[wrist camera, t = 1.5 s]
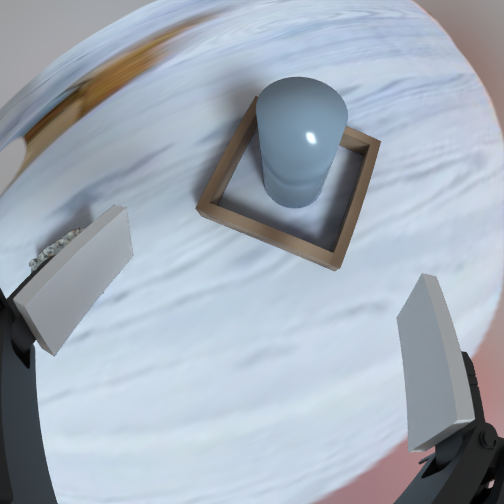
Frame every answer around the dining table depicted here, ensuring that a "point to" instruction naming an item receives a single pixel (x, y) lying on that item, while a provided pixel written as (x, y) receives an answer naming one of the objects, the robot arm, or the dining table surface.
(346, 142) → the wooden square frame
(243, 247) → the dining table surface
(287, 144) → the slate jar
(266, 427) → the dining table surface
